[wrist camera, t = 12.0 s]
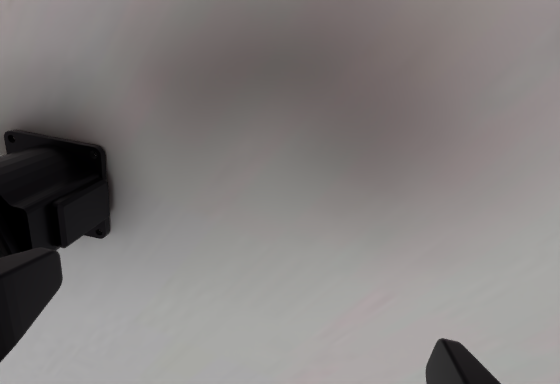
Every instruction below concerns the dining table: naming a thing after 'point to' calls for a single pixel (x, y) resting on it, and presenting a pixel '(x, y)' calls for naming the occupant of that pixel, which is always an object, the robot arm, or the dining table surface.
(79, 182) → the robot arm
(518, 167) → the dining table surface
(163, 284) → the dining table surface
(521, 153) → the dining table surface
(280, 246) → the dining table surface
